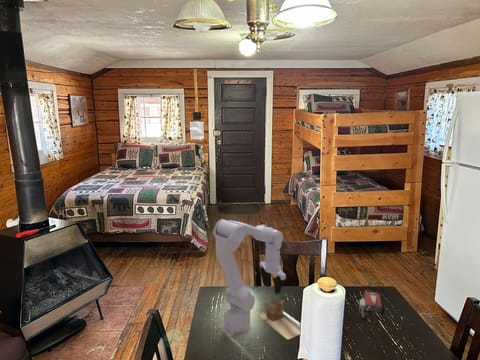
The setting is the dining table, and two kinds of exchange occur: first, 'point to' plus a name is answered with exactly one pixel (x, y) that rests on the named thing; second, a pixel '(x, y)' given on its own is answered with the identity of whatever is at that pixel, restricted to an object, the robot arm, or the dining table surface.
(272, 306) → the brown knobbed block
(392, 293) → the dining table surface
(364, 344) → the dining table surface
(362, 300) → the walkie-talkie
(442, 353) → the dining table surface
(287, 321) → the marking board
